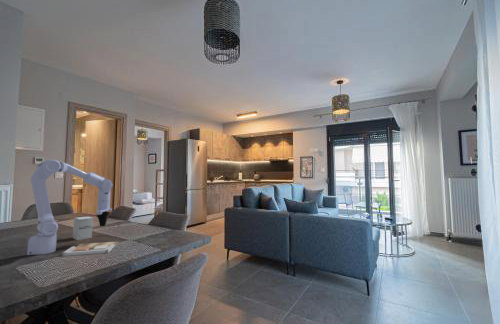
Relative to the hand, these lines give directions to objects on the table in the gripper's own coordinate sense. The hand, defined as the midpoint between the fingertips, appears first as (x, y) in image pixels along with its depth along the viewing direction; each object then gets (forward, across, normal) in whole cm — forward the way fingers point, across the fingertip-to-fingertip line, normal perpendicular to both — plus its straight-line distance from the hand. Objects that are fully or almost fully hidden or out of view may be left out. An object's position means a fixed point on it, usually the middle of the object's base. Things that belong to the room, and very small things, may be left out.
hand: (102, 225), depth 124 cm
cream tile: (+9, -15, -4) cm, 18 cm away
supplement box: (+10, +11, +13) cm, 20 cm away
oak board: (+9, -7, 0) cm, 12 cm away
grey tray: (+9, -17, 0) cm, 19 cm away
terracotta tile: (+9, -15, +4) cm, 18 cm away
